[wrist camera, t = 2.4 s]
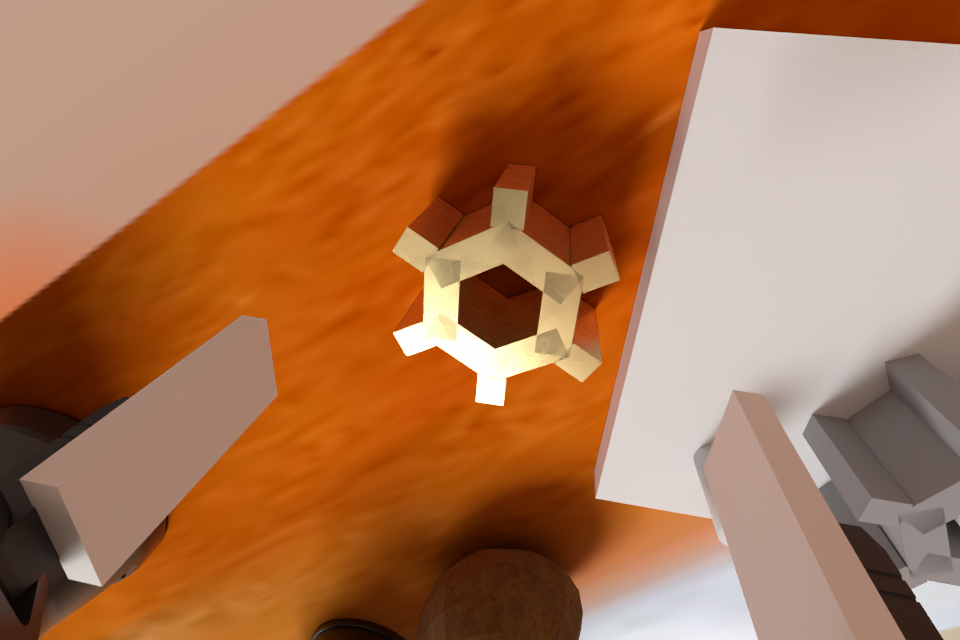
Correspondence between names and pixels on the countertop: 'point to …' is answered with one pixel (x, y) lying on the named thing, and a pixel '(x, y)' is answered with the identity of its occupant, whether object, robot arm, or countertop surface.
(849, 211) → the gear board
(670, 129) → the countertop surface
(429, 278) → the brass gear
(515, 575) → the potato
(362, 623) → the french press
